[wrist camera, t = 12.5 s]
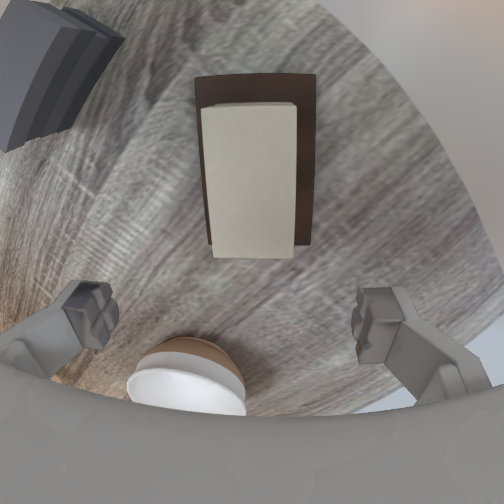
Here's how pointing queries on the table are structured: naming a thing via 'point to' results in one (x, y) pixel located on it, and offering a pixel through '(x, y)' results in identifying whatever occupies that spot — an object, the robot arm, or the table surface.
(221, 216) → the white book
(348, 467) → the robot arm
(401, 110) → the table surface
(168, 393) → the bowl
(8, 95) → the grey books
